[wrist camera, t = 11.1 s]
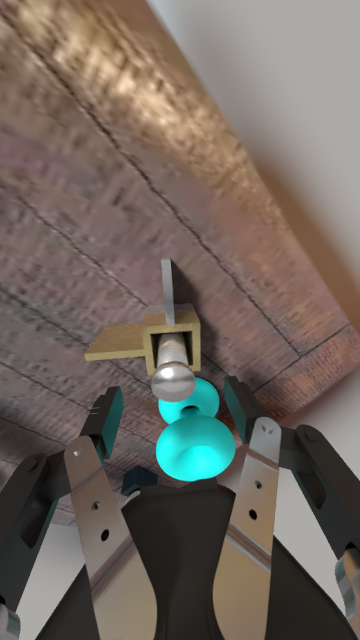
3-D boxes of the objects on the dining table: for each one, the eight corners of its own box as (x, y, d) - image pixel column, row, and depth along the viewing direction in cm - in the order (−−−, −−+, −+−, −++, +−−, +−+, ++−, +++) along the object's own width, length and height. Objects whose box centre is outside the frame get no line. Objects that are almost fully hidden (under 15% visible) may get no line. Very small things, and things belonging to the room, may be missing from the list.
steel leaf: (152, 343, 25) (147, 375, 19) (142, 258, 21) (131, 261, 14) (191, 340, 25) (200, 370, 19) (189, 255, 21) (199, 257, 15)
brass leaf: (111, 346, 25) (92, 380, 18) (102, 308, 23) (77, 331, 16) (191, 340, 25) (200, 370, 19) (191, 302, 23) (200, 322, 17)
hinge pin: (159, 335, 25) (153, 404, 14) (157, 313, 24) (149, 369, 12) (183, 333, 25) (196, 400, 14) (182, 311, 24) (195, 365, 13)
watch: (118, 479, 37) (99, 565, 27) (143, 460, 35) (134, 546, 25) (138, 487, 39) (127, 572, 28) (163, 471, 37) (161, 554, 27)
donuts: (164, 429, 18) (251, 438, 19) (165, 368, 27) (224, 377, 29) (148, 484, 21) (223, 487, 23) (154, 413, 31) (207, 419, 32)
